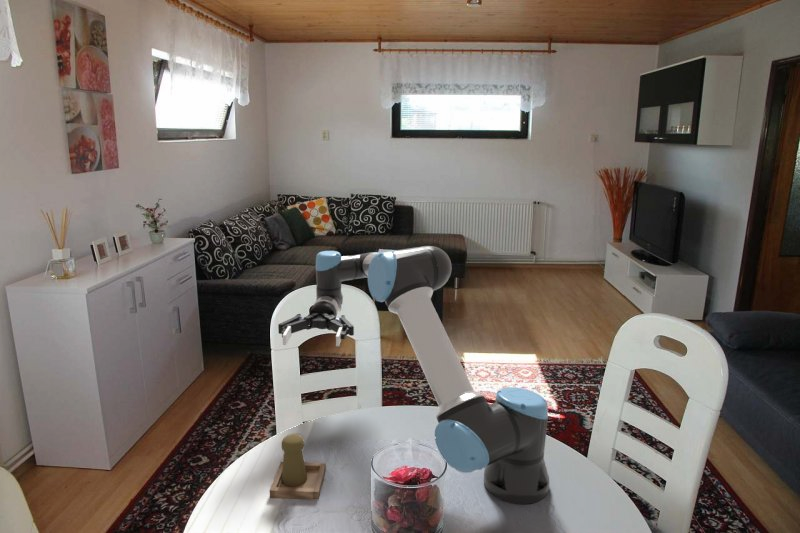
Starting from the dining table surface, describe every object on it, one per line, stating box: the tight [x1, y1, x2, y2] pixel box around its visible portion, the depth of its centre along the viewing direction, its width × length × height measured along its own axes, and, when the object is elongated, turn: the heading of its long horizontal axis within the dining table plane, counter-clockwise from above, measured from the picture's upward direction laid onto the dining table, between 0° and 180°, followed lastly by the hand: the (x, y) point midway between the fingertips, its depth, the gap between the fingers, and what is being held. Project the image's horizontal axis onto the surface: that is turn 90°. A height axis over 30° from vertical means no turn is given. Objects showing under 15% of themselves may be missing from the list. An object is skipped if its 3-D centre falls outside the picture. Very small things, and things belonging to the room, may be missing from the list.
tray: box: [269, 461, 327, 501], centre depth 133 cm, size 11×11×2 cm
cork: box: [280, 433, 307, 487], centre depth 132 cm, size 6×6×11 cm
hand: (310, 340), depth 145 cm, fingers open, 13 cm apart
